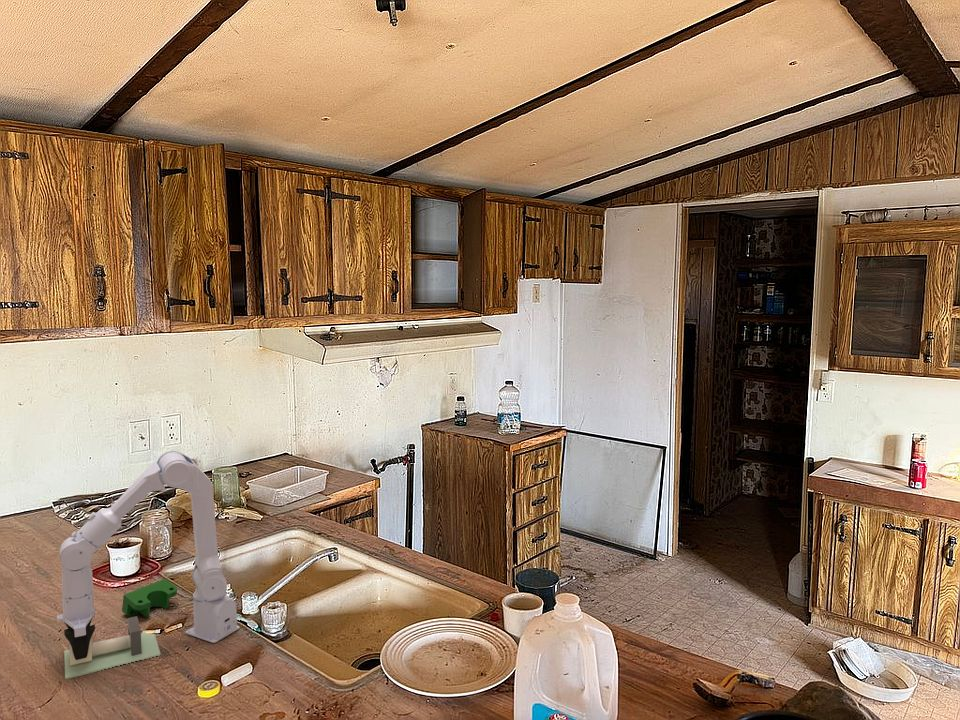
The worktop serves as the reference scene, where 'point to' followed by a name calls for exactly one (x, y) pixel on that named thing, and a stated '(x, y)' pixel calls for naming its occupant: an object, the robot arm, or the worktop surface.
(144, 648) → the mat
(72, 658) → the cream mallet
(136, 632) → the loop
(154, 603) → the clamp
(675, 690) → the worktop surface
